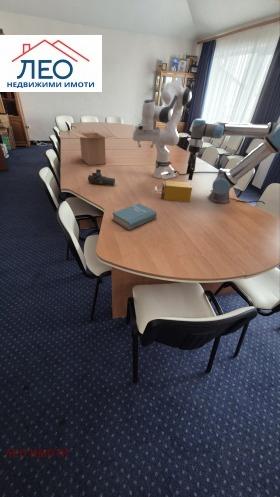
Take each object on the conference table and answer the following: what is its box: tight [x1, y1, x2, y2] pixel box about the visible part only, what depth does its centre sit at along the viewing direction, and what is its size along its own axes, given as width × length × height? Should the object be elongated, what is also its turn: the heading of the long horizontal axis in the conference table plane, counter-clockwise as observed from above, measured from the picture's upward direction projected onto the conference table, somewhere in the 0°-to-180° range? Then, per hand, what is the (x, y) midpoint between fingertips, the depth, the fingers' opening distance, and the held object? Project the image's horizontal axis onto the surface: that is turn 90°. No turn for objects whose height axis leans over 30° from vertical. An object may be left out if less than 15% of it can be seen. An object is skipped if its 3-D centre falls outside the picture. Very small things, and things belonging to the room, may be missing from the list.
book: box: [112, 202, 158, 231], centre depth 138 cm, size 23×16×5 cm
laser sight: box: [87, 168, 116, 186], centre depth 182 cm, size 10×22×10 cm, turn 78°
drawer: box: [154, 181, 165, 199], centre depth 168 cm, size 24×10×9 cm, turn 86°
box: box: [70, 129, 114, 166], centre depth 229 cm, size 44×36×27 cm
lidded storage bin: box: [163, 180, 193, 203], centre depth 168 cm, size 19×11×11 cm, turn 86°
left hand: (145, 147), depth 167 cm, fingers open, 8 cm apart
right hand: (189, 176), depth 161 cm, fingers open, 13 cm apart
